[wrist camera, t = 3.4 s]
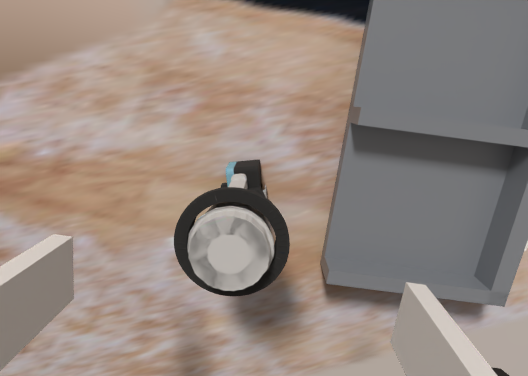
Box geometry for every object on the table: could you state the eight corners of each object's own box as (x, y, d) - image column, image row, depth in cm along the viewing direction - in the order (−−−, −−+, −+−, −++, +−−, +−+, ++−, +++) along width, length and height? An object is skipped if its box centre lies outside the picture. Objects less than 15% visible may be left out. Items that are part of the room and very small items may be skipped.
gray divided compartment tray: (320, 262, 26) (326, 283, 23) (384, -77, 20) (403, -106, 17) (482, 283, 26) (508, 307, 23) (590, -48, 20) (643, -72, 18)
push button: (287, 241, 26) (297, 329, 16) (216, 247, 26) (182, 337, 16) (280, 152, 24) (285, 190, 14) (203, 159, 24) (157, 201, 14)
